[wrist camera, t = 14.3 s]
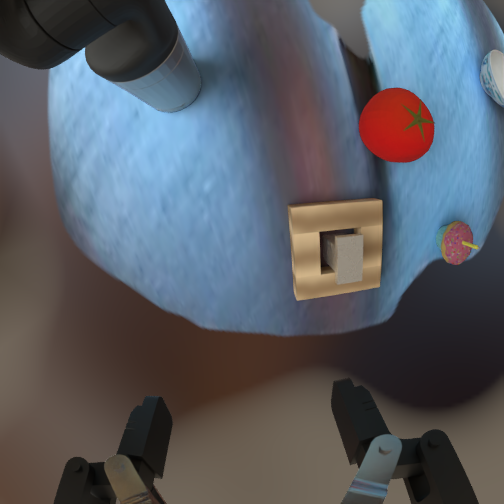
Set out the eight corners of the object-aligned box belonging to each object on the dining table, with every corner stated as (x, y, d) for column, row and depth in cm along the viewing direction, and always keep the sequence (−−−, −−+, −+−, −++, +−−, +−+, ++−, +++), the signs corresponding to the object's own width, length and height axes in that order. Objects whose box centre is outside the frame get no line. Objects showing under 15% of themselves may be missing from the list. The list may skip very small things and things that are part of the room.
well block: (287, 205, 41) (291, 207, 39) (373, 198, 42) (382, 200, 39) (293, 292, 46) (297, 300, 43) (372, 280, 46) (379, 286, 43)
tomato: (387, 175, 40) (433, 181, 28) (336, 140, 39) (372, 132, 26) (410, 123, 38) (456, 116, 25) (362, 87, 36) (401, 65, 23)
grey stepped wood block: (321, 226, 43) (337, 237, 36) (344, 223, 43) (363, 234, 36) (323, 266, 45) (337, 284, 38) (344, 263, 45) (362, 280, 38)
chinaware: (461, 49, 31) (482, 41, 24) (494, 63, 31) (513, 59, 24) (477, 108, 36) (501, 106, 28) (507, 117, 36) (528, 117, 28)
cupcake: (423, 240, 44) (462, 260, 33) (444, 207, 42) (486, 220, 31) (441, 264, 46) (478, 287, 35) (462, 233, 44) (500, 250, 33)
